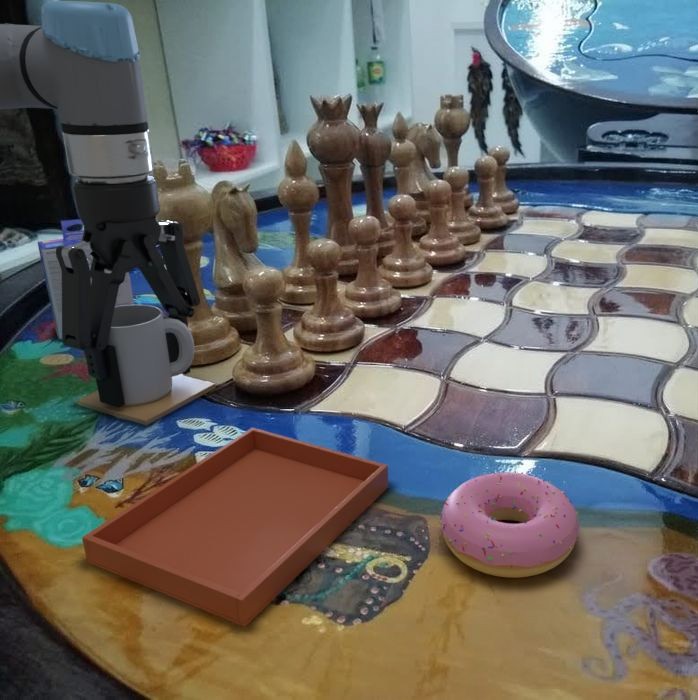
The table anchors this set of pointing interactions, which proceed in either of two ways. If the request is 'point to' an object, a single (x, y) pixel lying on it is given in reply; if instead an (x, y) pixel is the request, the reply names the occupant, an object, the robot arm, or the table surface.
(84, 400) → the cork mat
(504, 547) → the doughnut
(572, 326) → the table surface
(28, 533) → the table surface
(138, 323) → the cup
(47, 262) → the ink cartridge box
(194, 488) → the tray
